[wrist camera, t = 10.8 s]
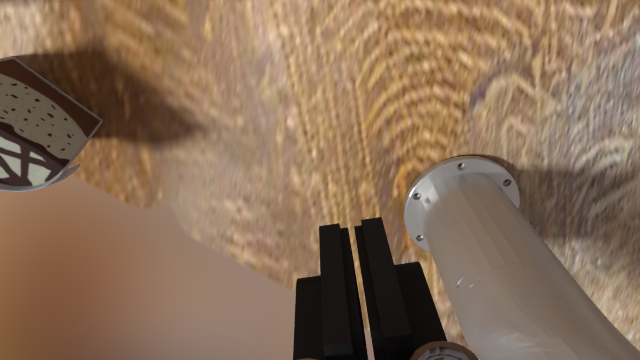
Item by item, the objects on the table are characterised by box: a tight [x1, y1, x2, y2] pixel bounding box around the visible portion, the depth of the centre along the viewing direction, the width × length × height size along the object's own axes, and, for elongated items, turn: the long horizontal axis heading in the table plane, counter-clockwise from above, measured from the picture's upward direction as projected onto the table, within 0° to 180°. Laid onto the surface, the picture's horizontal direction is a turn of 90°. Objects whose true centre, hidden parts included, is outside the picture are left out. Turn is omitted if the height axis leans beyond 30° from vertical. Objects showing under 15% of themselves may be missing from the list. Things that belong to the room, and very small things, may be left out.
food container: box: [0, 56, 104, 192], centre depth 38 cm, size 12×6×10 cm, turn 47°
